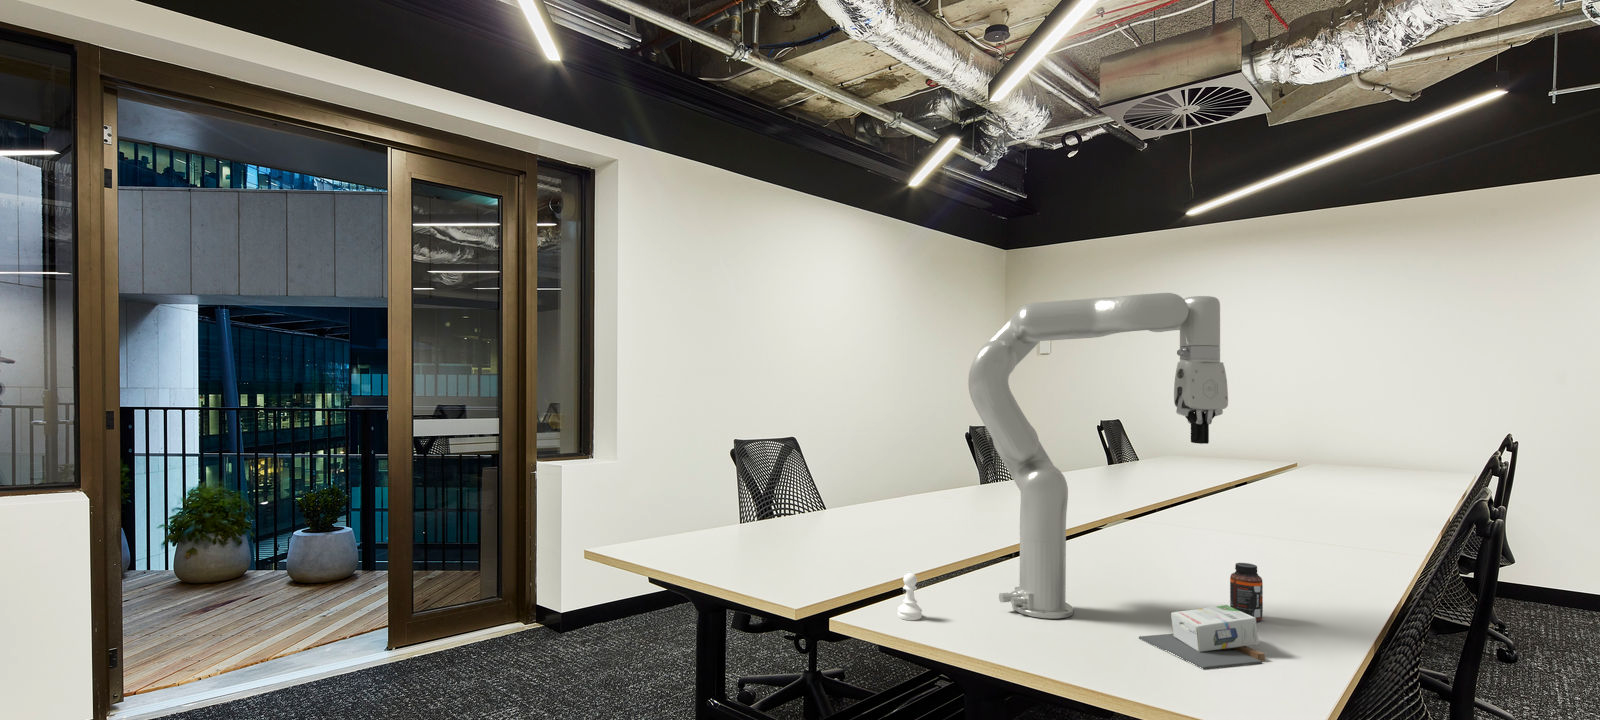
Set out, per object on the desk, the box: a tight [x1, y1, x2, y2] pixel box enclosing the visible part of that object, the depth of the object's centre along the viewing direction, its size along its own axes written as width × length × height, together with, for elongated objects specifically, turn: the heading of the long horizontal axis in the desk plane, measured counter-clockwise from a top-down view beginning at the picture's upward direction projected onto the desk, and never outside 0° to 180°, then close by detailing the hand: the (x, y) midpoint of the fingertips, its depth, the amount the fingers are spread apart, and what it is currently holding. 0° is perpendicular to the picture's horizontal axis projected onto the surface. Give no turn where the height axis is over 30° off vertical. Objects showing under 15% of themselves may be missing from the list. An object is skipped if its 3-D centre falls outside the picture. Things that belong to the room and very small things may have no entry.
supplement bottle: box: [1229, 562, 1264, 623], centre depth 160 cm, size 6×6×11 cm
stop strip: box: [1232, 646, 1266, 662], centre depth 142 cm, size 2×14×1 cm, turn 16°
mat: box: [1138, 633, 1263, 670], centre depth 140 cm, size 13×16×1 cm
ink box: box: [1170, 604, 1259, 652], centre depth 142 cm, size 9×5×12 cm
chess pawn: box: [897, 572, 923, 621], centre depth 157 cm, size 5×5×9 cm
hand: (1199, 442), depth 158 cm, fingers closed
